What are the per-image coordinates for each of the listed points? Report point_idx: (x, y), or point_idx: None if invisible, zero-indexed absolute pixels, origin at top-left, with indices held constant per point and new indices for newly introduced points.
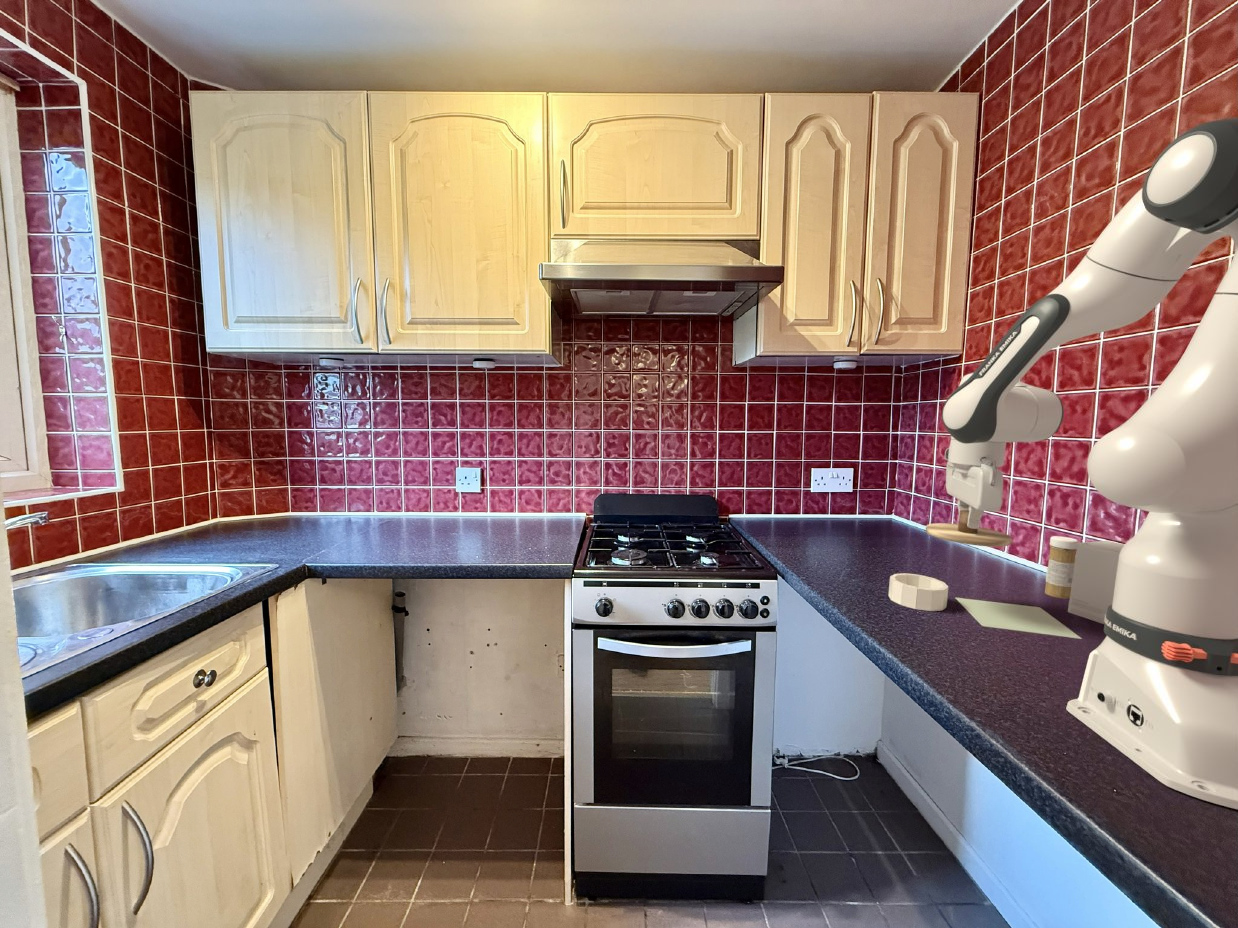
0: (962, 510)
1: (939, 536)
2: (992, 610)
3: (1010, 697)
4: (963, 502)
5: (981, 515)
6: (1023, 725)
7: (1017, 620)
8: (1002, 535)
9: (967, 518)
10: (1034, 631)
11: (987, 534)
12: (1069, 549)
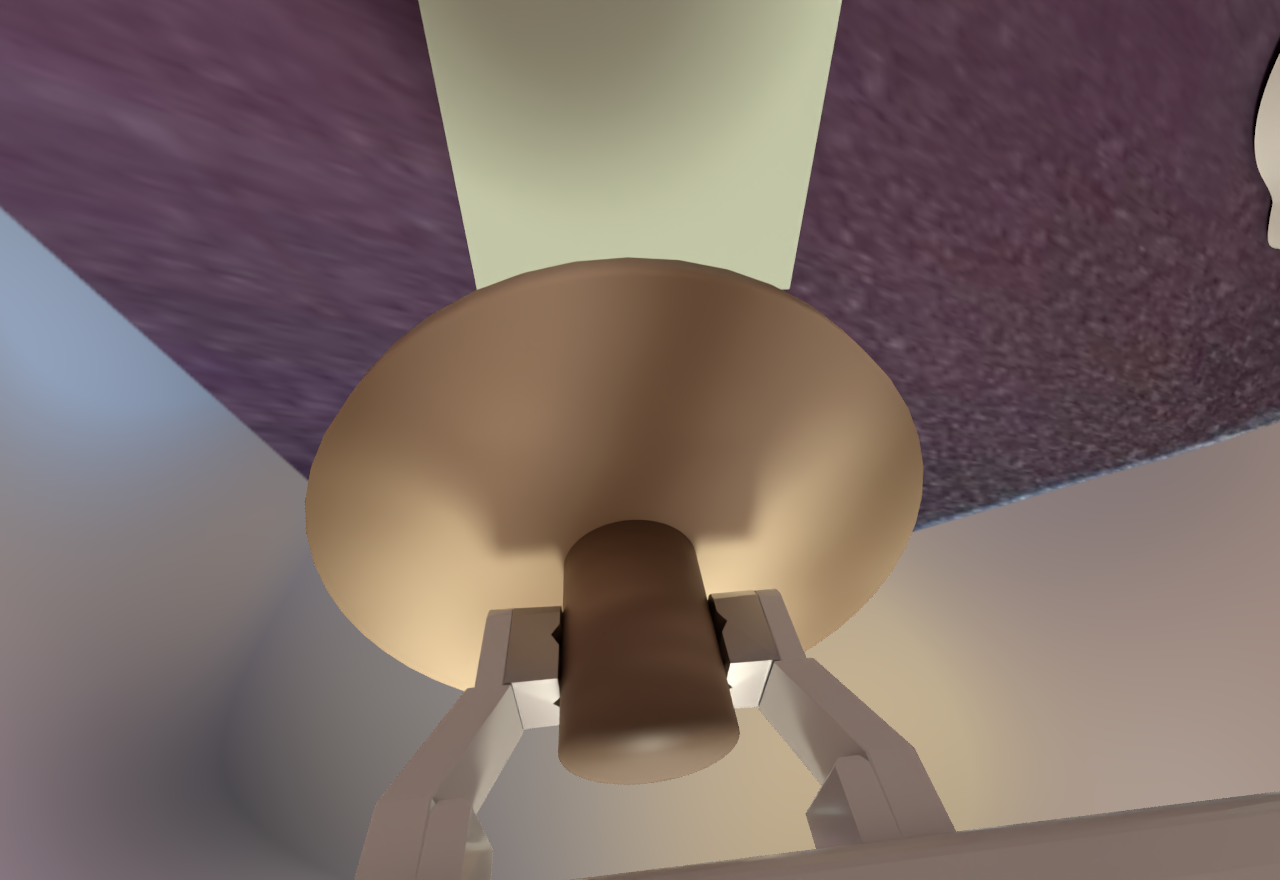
0: (604, 775)
1: None
2: (591, 183)
3: (1175, 348)
4: (481, 870)
5: (863, 709)
6: (1267, 361)
7: (692, 107)
8: (659, 349)
9: (750, 704)
10: (812, 82)
11: (675, 464)
12: None
